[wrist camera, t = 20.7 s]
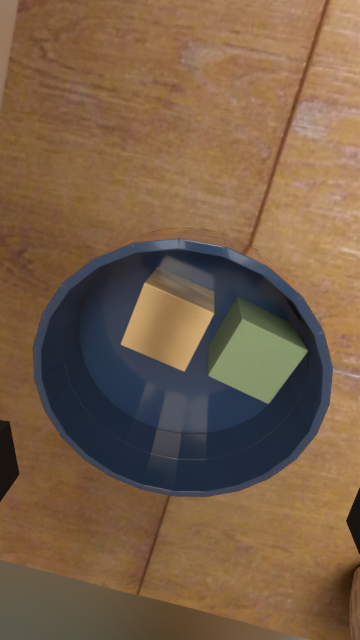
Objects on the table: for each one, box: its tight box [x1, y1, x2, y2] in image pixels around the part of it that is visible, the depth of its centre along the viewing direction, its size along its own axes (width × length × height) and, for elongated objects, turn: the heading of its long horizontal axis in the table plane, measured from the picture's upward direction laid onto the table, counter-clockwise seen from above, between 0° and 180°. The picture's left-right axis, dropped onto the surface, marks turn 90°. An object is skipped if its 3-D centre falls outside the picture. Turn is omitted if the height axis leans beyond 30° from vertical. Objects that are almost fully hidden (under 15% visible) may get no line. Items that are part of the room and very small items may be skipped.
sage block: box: [208, 296, 308, 404], centre depth 23 cm, size 5×5×5 cm
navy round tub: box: [33, 228, 333, 497], centre depth 24 cm, size 20×20×7 cm
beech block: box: [121, 267, 214, 372], centre depth 23 cm, size 5×5×5 cm
